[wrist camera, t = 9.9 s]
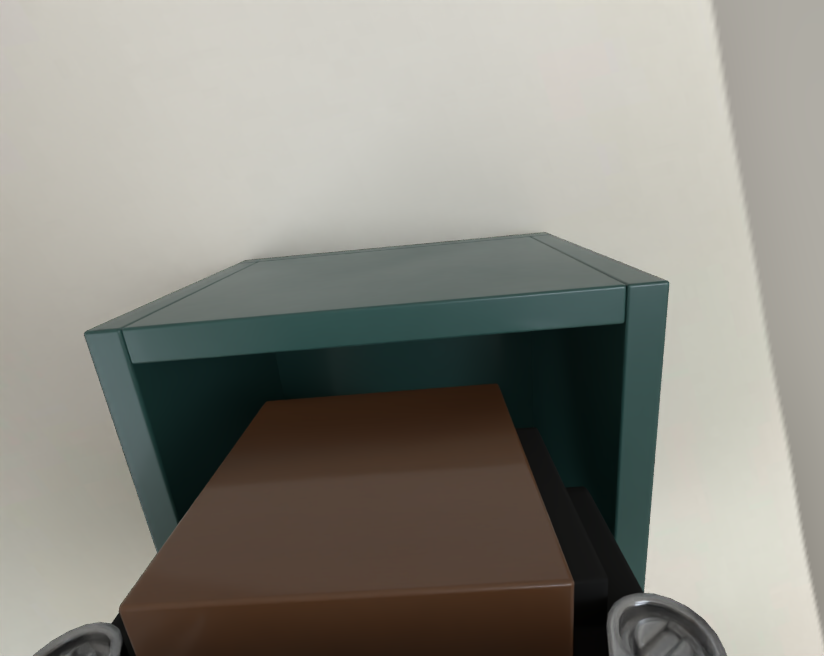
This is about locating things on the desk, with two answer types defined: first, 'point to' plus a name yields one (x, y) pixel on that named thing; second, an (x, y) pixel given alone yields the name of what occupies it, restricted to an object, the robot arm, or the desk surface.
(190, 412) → the green hollow open box
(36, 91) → the desk surface
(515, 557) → the block
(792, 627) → the desk surface
